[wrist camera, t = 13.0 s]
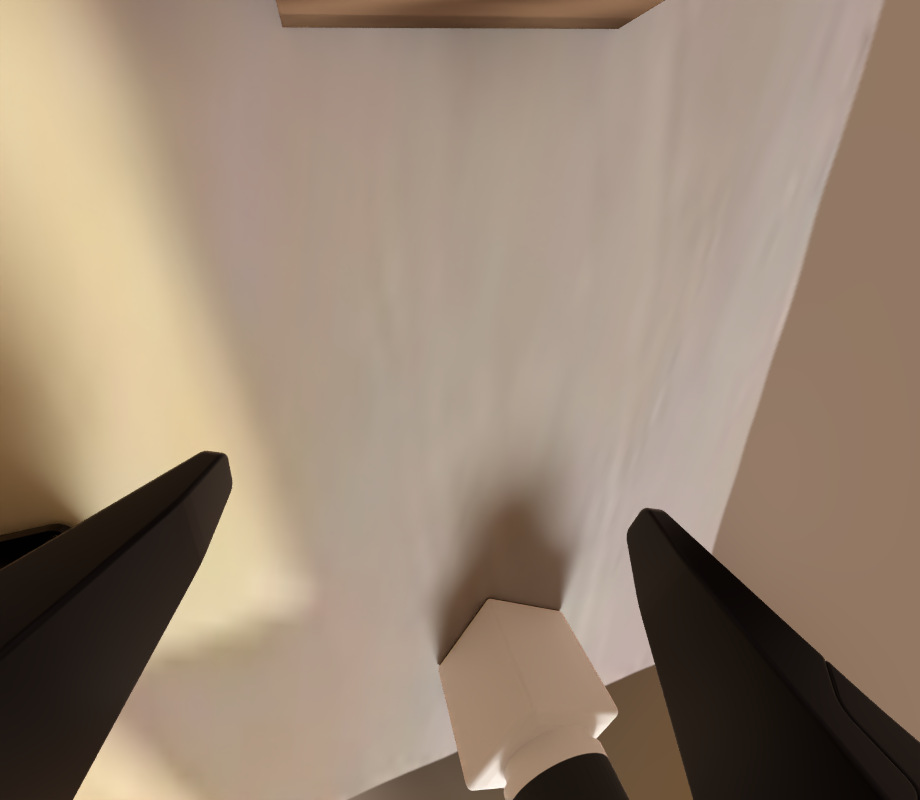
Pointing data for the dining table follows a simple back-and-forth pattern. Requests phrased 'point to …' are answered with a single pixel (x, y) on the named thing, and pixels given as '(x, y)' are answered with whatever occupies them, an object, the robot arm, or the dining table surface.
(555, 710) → the medicine bottle
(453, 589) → the dining table surface
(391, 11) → the walnut holder
